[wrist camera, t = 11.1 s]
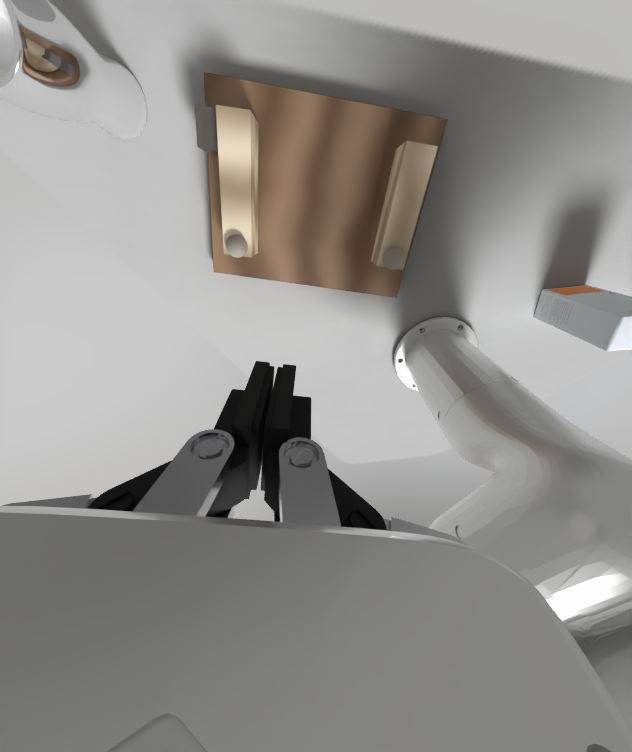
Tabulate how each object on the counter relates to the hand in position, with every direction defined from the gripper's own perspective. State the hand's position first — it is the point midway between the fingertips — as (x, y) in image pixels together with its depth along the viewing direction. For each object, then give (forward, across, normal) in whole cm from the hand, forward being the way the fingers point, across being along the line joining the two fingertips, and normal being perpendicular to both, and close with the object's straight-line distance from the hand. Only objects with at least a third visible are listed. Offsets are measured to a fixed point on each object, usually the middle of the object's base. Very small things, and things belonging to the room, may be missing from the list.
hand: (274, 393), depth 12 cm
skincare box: (+29, -37, -1) cm, 47 cm away
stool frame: (+29, -1, -8) cm, 30 cm away
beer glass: (+29, +20, -14) cm, 38 cm away
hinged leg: (+27, +7, -8) cm, 29 cm away
